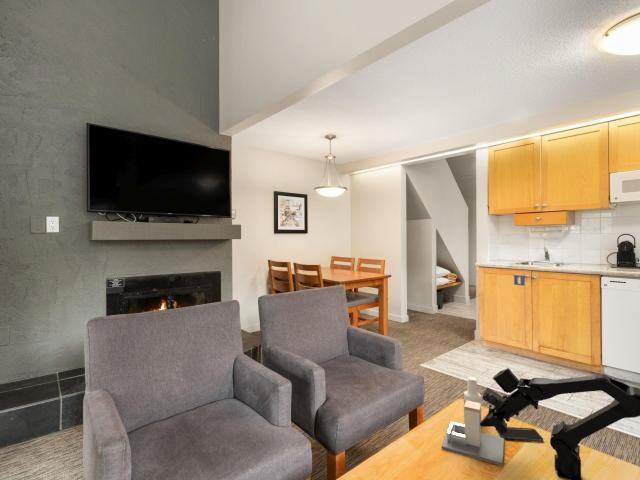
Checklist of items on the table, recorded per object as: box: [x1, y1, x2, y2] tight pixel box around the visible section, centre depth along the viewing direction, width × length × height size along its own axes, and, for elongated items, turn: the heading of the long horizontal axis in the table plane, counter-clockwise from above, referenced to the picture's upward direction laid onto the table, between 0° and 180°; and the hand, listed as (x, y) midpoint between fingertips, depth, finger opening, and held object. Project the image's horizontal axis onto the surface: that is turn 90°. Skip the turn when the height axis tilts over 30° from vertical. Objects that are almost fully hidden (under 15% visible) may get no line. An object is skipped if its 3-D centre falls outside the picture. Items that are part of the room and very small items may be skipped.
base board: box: [441, 424, 505, 467], centre depth 129 cm, size 20×16×1 cm
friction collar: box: [446, 421, 467, 447], centre depth 131 cm, size 7×9×4 cm
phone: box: [495, 426, 544, 443], centre depth 134 cm, size 8×1×15 cm
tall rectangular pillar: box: [463, 400, 482, 447], centre depth 129 cm, size 5×5×14 cm
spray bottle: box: [463, 376, 483, 421], centre depth 145 cm, size 7×7×18 cm
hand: (480, 425), depth 127 cm, fingers closed, pressing on tall rectangular pillar
